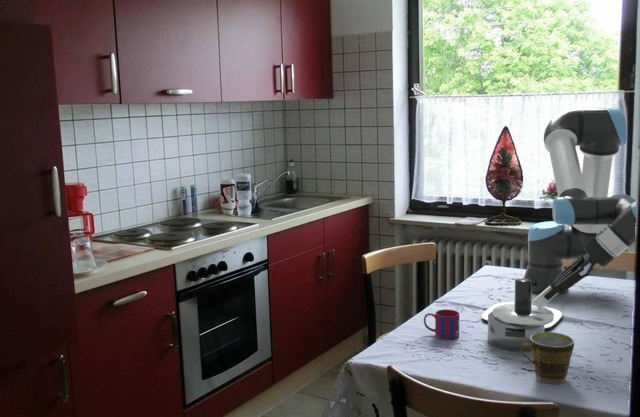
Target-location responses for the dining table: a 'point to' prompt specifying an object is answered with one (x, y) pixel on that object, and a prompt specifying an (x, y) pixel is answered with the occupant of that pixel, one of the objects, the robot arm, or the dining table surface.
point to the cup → (445, 324)
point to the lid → (523, 308)
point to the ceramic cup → (550, 356)
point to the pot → (510, 334)
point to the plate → (485, 315)
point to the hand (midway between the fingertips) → (536, 304)
